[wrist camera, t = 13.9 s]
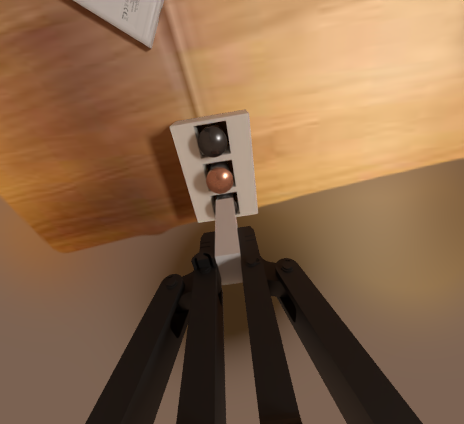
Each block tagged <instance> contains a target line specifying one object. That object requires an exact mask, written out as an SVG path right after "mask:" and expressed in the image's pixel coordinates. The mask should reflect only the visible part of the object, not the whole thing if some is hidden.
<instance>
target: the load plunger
mask: <svg viewBox="0 0 464 424" xmlns="http://www.w3.org/2000/svg"><path fill="white" fill-rule="evenodd" d="M206 184H207V186H208V188H209V189H210V190H211V191H212V192H214V193H217V194H223V193H226V192H228V191H229V190H230V189H231V188H232V186H233V176H232V174H231V172H230V170H229V165H228V163H227V162H225V161H220V162H214V163H212V164H211V166H210V171H209V173H208V174H207V178H206Z"/></svg>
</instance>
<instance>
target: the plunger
mask: <svg viewBox="0 0 464 424" xmlns="http://www.w3.org/2000/svg"><path fill="white" fill-rule="evenodd" d="M227 198H233V201H234V193H233V192H231V193H225V194H219V195H216V200H220V199H227ZM234 208H235V215H236V214H237V211H238V207H237V203H236V202H235V201H234ZM214 214H215V215H216V202H215V204H214Z"/></svg>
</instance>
